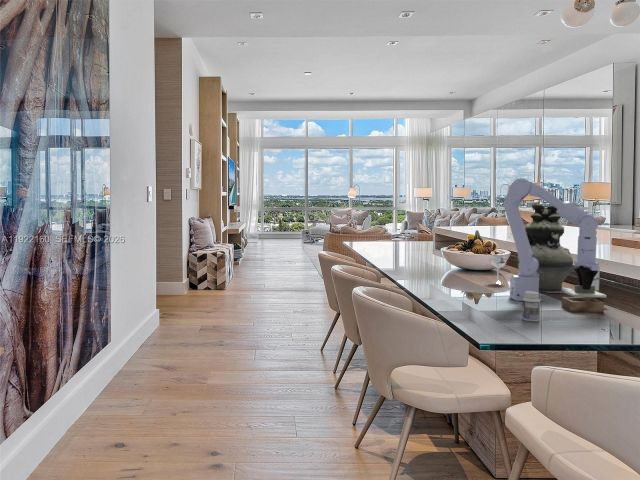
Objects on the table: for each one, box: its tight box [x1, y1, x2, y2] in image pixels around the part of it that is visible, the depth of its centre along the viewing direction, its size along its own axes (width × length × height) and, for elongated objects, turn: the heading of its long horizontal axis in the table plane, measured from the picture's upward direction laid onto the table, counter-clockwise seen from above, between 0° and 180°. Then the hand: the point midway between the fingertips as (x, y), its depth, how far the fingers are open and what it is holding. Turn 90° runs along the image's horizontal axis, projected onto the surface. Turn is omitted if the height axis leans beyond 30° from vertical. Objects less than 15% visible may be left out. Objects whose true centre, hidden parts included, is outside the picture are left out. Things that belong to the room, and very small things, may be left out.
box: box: [561, 296, 605, 314], centre depth 165 cm, size 10×8×3 cm
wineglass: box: [490, 254, 508, 285], centre depth 223 cm, size 7×7×12 cm
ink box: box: [592, 266, 601, 293], centre depth 194 cm, size 9×5×12 cm, turn 162°
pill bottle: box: [522, 291, 541, 322], centre depth 150 cm, size 5×5×8 cm
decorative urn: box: [516, 204, 574, 294], centre depth 205 cm, size 21×21×35 cm
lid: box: [563, 284, 607, 298], centre depth 175 cm, size 11×9×3 cm
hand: (585, 288), depth 174 cm, fingers closed on lid, 2 cm apart
